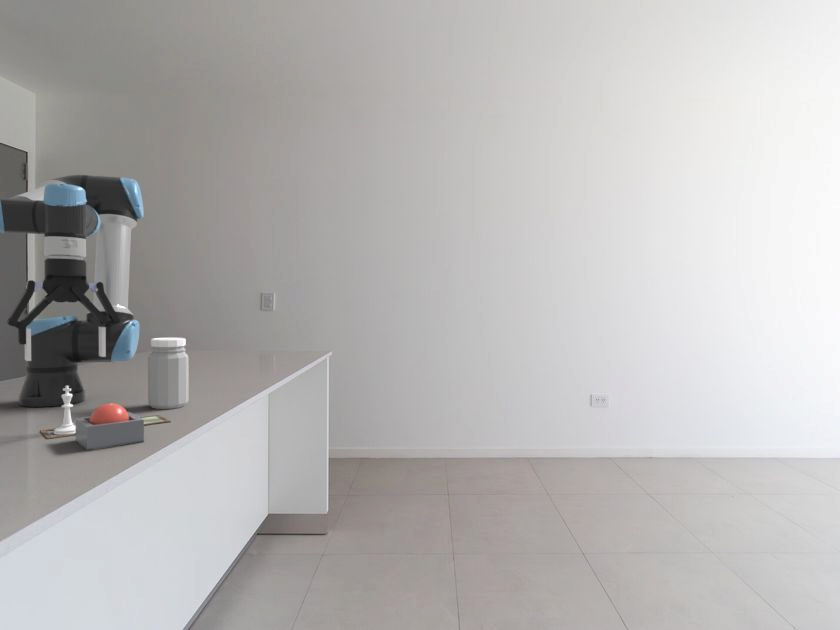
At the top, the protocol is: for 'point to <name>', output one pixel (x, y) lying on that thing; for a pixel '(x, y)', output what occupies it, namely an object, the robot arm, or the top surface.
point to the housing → (109, 433)
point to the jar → (168, 373)
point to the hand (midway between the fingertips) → (66, 358)
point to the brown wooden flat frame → (147, 420)
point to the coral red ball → (108, 414)
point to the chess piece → (66, 415)
